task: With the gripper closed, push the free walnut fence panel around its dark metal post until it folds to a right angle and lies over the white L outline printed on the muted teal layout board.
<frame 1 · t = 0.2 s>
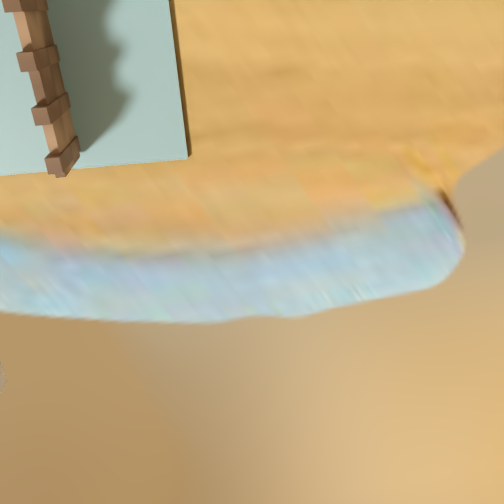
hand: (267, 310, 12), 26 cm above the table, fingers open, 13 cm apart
fence panel: (46, 83, 30), point 4 cm above the table, hinge at 0.0°
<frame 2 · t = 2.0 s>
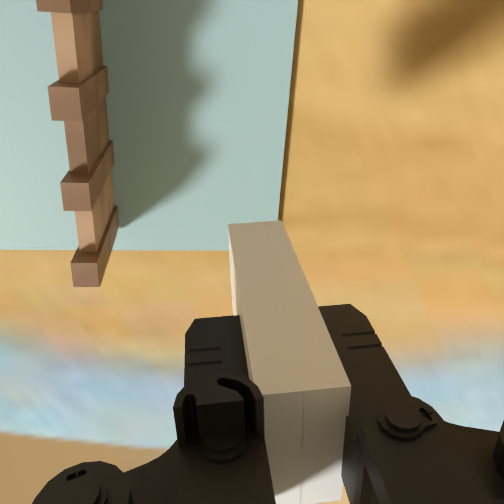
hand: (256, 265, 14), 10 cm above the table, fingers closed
fence panel: (87, 132, 18), point 4 cm above the table, hinge at 0.0°
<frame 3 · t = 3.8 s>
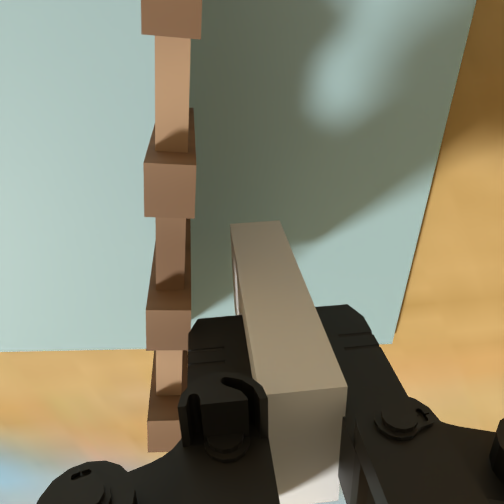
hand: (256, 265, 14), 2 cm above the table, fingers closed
fence panel: (173, 212, 11), point 4 cm above the table, hinge at -1.1°, touching gripper
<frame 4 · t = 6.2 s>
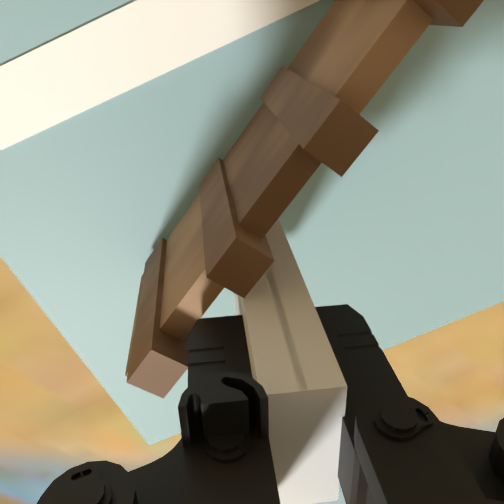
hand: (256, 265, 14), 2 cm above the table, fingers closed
fence panel: (266, 164, 11), point 4 cm above the table, hinge at -59.0°, touching gripper
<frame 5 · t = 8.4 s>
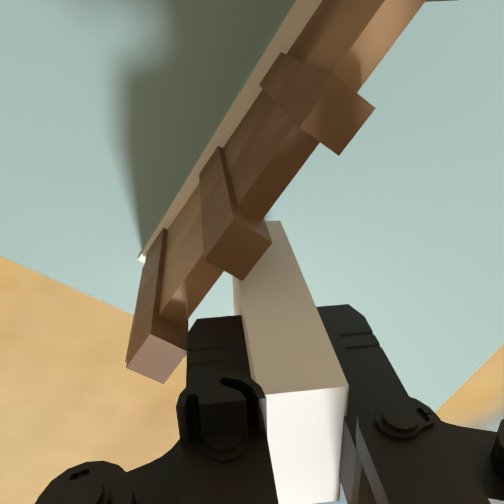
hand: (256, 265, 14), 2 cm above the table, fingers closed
fence panel: (264, 149, 11), point 4 cm above the table, hinge at -91.9°, touching gripper
layout board: (324, 13, 13), on the table
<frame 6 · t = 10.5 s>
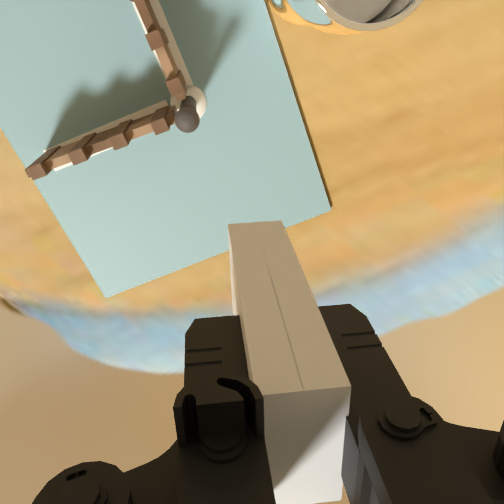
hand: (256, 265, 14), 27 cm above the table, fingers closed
fence fixed: (188, 102, 38), resting on layout board
fence panel: (104, 140, 35), point 4 cm above the table, hinge at -92.0°
layout board: (153, 117, 38), on the table
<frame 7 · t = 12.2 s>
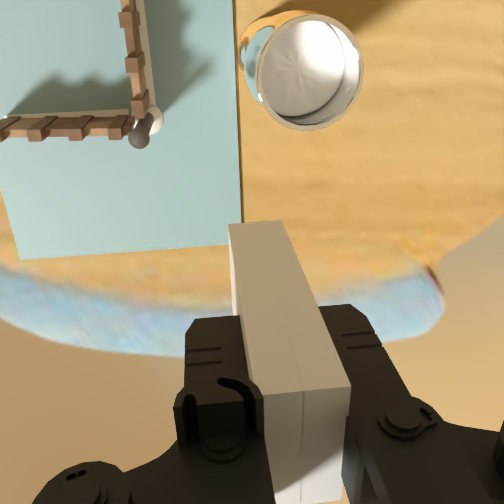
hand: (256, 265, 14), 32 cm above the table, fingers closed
beer glass: (272, 54, 42), on the table
fence fixed: (147, 117, 43), resting on layout board
fence panel: (63, 127, 39), point 3 cm above the table, hinge at -92.0°
layout board: (113, 119, 42), on the table
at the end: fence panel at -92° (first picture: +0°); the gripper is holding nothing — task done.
